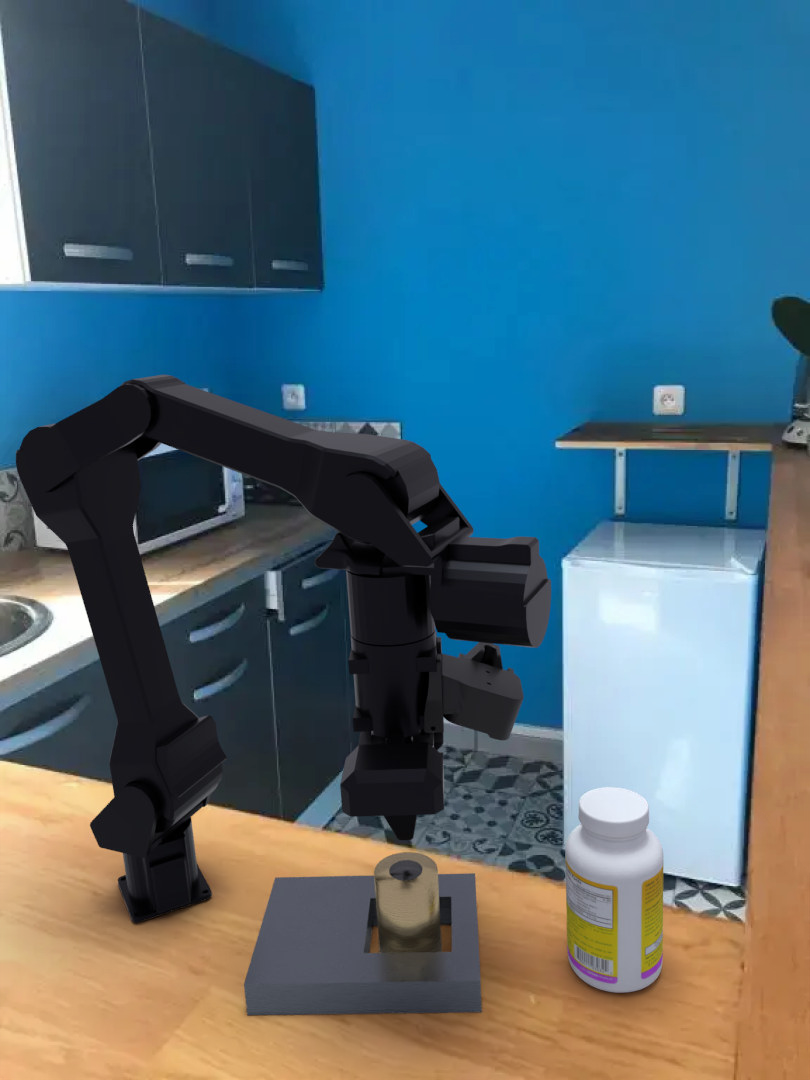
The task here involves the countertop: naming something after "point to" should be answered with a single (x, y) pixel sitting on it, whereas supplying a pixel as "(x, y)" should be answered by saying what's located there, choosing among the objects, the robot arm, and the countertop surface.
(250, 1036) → the countertop surface
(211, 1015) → the countertop surface
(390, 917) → the bushing
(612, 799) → the supplement bottle
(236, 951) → the countertop surface
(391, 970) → the jig
